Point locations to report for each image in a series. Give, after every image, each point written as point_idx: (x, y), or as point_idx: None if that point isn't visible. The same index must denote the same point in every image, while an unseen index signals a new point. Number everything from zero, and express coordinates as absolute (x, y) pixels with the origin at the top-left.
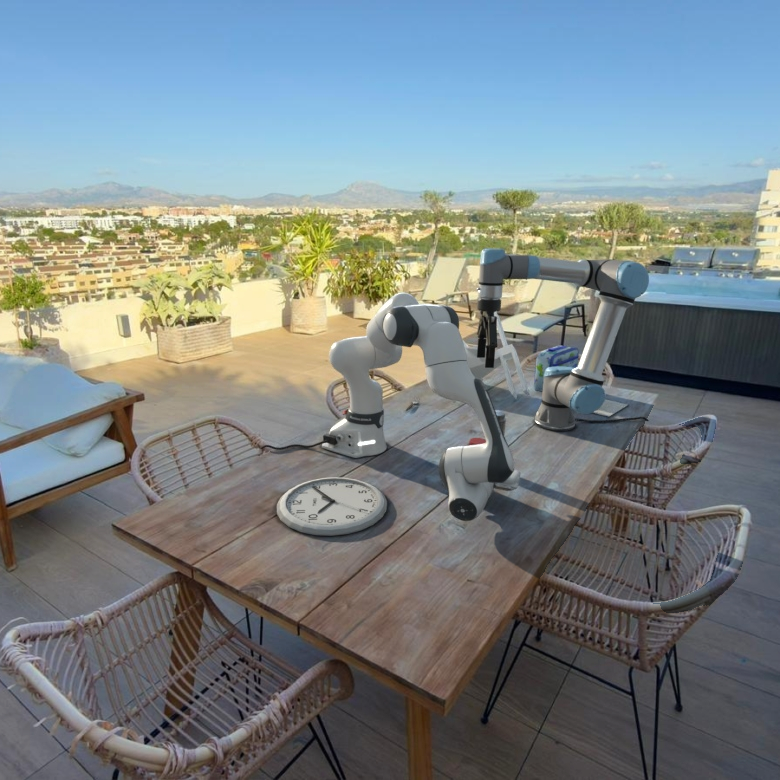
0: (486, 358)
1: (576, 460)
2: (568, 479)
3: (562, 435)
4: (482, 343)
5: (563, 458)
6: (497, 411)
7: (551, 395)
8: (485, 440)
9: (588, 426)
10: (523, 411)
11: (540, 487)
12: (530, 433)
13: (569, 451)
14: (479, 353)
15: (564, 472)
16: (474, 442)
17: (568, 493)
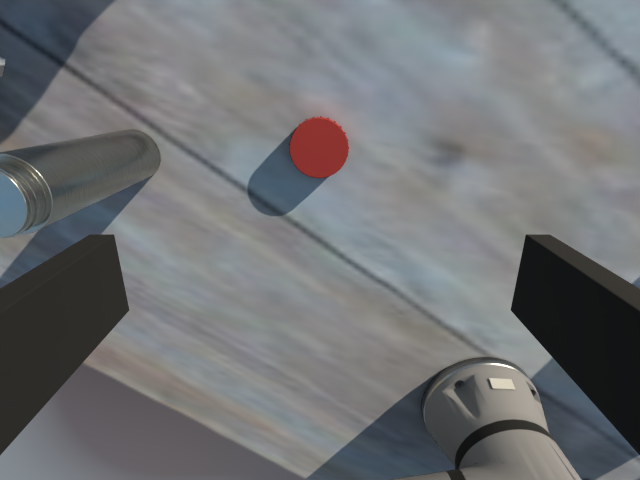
0: (19, 284)
1: (233, 379)
2: (122, 331)
3: (393, 397)
4: (633, 386)
5: (243, 356)
6: (11, 207)
7: (488, 468)
8: (323, 175)
9: (449, 468)
10: None
11: None
12: (414, 325)
13: (287, 381)
14: (548, 275)
15: (160, 334)
16: (305, 132)
17: None
